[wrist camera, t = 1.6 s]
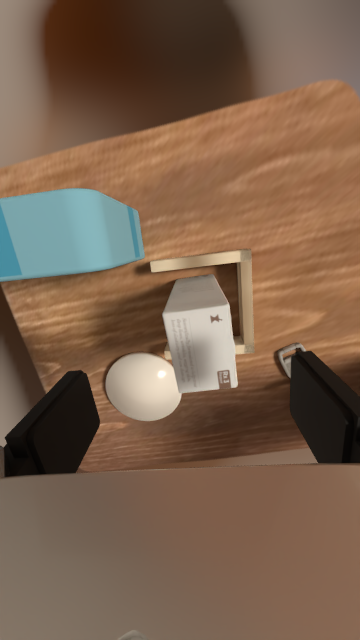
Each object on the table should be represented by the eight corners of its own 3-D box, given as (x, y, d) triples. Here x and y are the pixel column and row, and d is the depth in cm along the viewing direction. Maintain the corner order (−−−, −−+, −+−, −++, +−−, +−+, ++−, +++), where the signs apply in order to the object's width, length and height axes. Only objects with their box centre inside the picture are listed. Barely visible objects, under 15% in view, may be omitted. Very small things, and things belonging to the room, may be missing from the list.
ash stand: (245, 248, 24) (251, 249, 22) (249, 343, 27) (254, 352, 25) (154, 260, 25) (149, 261, 23) (168, 349, 28) (165, 359, 26)
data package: (141, 211, 24) (88, 183, 12) (148, 257, 25) (105, 270, 14) (31, 226, 25) (-109, 213, 14) (43, 269, 26) (-75, 290, 15)
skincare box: (174, 279, 26) (154, 309, 14) (215, 272, 25) (229, 298, 14) (183, 331, 27) (172, 396, 16) (222, 326, 27) (239, 390, 15)
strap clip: (274, 349, 28) (286, 368, 24) (299, 339, 27) (317, 356, 23) (298, 405, 30) (314, 431, 26) (323, 397, 29) (343, 422, 25)
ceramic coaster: (176, 348, 28) (176, 351, 27) (186, 414, 31) (186, 419, 30) (100, 354, 29) (97, 357, 28) (116, 418, 32) (114, 422, 31)
